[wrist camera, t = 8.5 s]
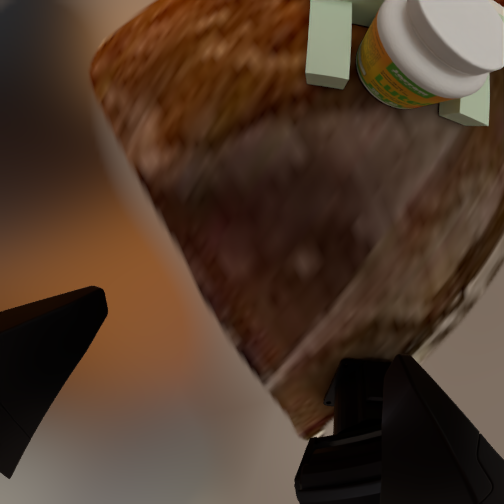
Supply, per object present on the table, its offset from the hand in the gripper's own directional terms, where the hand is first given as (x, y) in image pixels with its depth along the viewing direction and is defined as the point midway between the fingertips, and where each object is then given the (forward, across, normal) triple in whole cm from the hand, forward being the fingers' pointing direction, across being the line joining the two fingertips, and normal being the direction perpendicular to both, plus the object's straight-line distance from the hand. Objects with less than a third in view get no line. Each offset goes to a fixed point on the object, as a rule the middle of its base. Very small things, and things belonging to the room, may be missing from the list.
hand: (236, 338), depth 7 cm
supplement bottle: (+12, -6, -11) cm, 17 cm away
